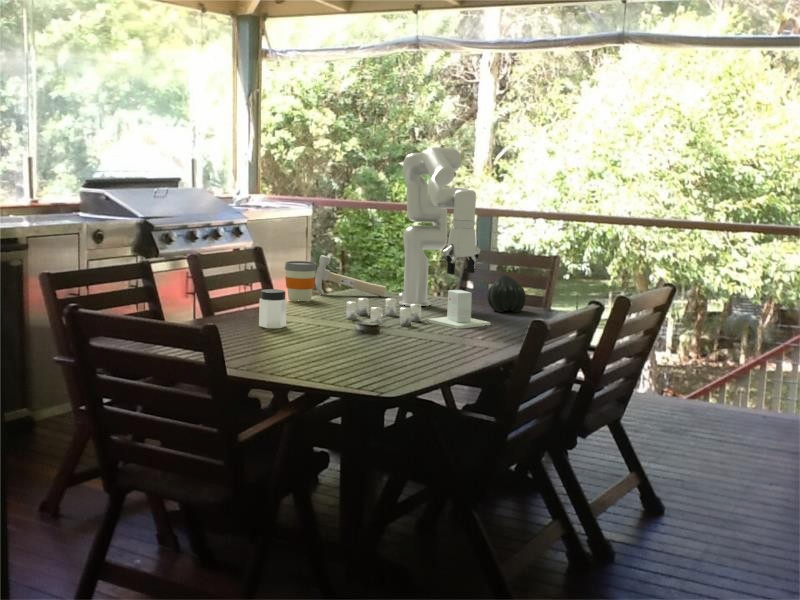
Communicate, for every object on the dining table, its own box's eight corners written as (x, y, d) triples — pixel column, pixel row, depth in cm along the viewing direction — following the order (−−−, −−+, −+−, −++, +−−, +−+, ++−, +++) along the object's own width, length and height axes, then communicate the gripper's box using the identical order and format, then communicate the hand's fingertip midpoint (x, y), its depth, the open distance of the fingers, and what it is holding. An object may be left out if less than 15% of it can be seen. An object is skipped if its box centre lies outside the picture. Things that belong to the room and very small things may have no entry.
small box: (470, 322, 321) (472, 292, 319) (456, 322, 318) (458, 293, 317) (460, 318, 328) (461, 289, 326) (446, 318, 326) (447, 289, 324)
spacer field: (335, 316, 328) (335, 299, 327) (382, 311, 342) (383, 296, 341) (384, 328, 306) (384, 311, 306) (432, 323, 321) (433, 306, 320)
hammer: (389, 273, 382) (321, 254, 382) (389, 275, 377) (319, 255, 377) (380, 309, 384) (312, 290, 384) (379, 311, 379) (310, 291, 380)
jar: (284, 324, 307) (285, 289, 306) (287, 328, 300) (288, 292, 298) (257, 324, 305) (258, 288, 303) (260, 328, 297) (260, 292, 296)
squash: (525, 302, 344) (526, 270, 353) (485, 301, 347) (487, 269, 355) (525, 322, 356) (526, 290, 364) (487, 321, 358) (489, 289, 367)
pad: (427, 321, 324) (427, 318, 324) (459, 318, 334) (459, 315, 334) (457, 328, 312) (458, 326, 312) (490, 325, 322) (490, 322, 322)
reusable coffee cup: (295, 303, 354) (296, 265, 352) (278, 298, 363) (278, 261, 361) (321, 301, 362) (322, 263, 360) (304, 296, 371) (305, 260, 369)
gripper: (473, 223, 327) (470, 270, 329) (438, 224, 316) (435, 273, 318) (488, 225, 321) (485, 273, 324) (452, 226, 310) (450, 276, 313)
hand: (460, 273), depth 321 cm, fingers open, 9 cm apart
